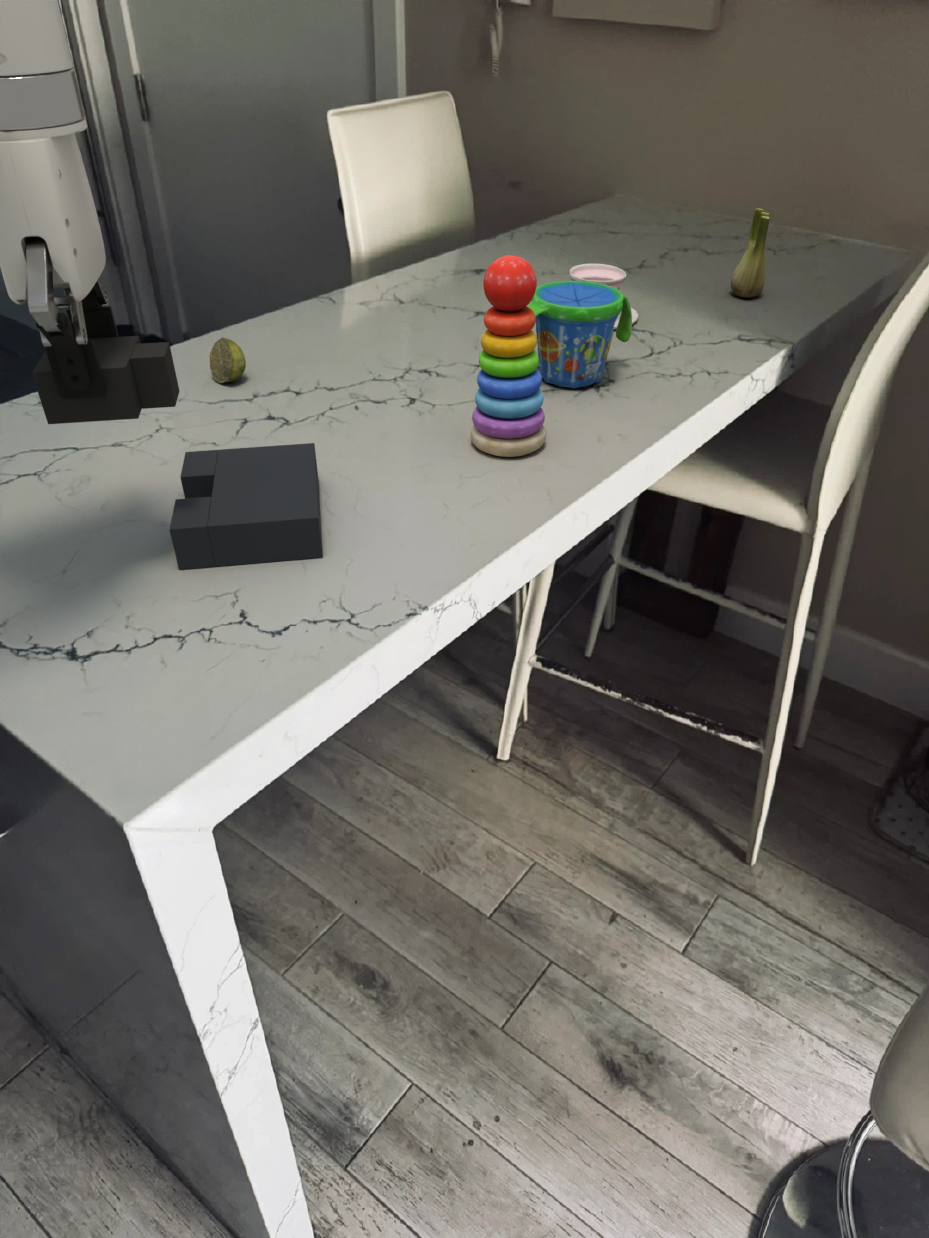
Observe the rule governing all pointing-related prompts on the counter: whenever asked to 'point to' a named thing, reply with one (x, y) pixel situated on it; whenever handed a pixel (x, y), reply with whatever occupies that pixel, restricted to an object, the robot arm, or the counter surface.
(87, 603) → the counter surface
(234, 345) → the lime
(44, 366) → the dark tabbed block
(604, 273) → the teacup
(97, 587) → the counter surface
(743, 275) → the fennel bulb
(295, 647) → the counter surface
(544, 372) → the snack cup
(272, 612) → the counter surface
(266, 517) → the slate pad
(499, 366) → the stacking toy
